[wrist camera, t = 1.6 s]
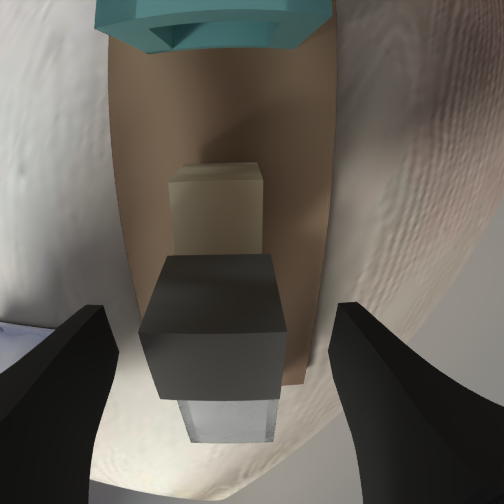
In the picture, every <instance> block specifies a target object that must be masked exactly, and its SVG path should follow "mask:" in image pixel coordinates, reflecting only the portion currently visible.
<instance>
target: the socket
mask: <svg viewBox="0 0 504 504" xmlns="http://www.w3.org/2000/svg"><path fill="white" fill-rule="evenodd" d="M331 17H332V0H97V2H96V12H95V26H94V29H96V30H99V31H101V32H103V33H105V34H108V35H110V36H112V37H114V38H116V39H118V40H120V41H122V42H124V43H126V44H128V45H130V46H132V47H134V48H136V49H138V50H140V51H142V52H144V53H146V54H155V53H163V52H171V51H181V50H193V49H208V48H280V49H295V48H296V47H297V46H299V45H300V44H301V43H302V42H303V41H304V40H305V39H306V38H307V37H309V36H310V35H311V34H312V33H313V32H314V31H315V30H317V29H318V28H319V27H320V26H321V25H322V24H324V23H325V22H326V21H327V20H328V19H329V18H331Z"/></svg>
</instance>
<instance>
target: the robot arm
mask: <svg viewBox="0 0 504 504" xmlns="http://www.w3.org/2000/svg"><path fill="white" fill-rule="evenodd" d="M328 354H329V359H330V364H331V369H332V374H333V379H334V382H335V385H336V388H337V391H338V394H339V397H340V400H341V403H342V406H343V409H344V412H345V416H346V419H347V422H348V425H349V428H350V431H351V434H352V437H353V441H354V445H355V449H356V454H357V460H358V466H359V472H360V479H361V487H362V495H363V504H504V407H503V406H501V405H498V404H496V403H494V402H492V401H490V400H488V399H486V398H484V397H482V396H480V395H478V394H476V393H475V392H473V391H471V390H469V389H467V388H466V387H464V386H462V385H460V384H459V383H457V382H456V381H454V380H453V379H451V378H450V377H448V376H447V375H445V374H444V373H442V372H440V371H439V370H438V369H436V368H435V367H433V366H432V365H431V364H430V363H428V362H427V361H426V360H424V359H423V358H422V357H421V356H419V355H418V354H417V353H415V352H414V351H413V350H412V349H410V348H409V347H408V346H407V345H406V344H405V343H403V342H402V341H401V340H400V339H399V338H398V337H396V336H395V335H394V334H393V333H392V332H391V331H390V330H388V329H387V328H386V327H385V326H384V325H383V324H382V323H381V322H379V321H378V320H377V319H376V318H375V317H374V316H373V315H372V314H371V313H369V312H368V311H367V310H366V309H365V308H364V307H363V306H361V305H360V304H359V303H358V302H347V303H338V307H337V312H336V317H335V322H334V326H333V331H332V335H331V340H330V344H329V349H328ZM118 356H119V350H118V347H117V345H116V342H115V339H114V336H113V334H112V331H111V328H110V325H109V322H108V319H107V316H106V313H105V310H104V307H103V305H86V306H84V307H83V308H81V309H80V310H79V311H77V312H76V313H75V314H74V315H72V316H71V317H70V318H69V319H68V320H66V321H65V322H64V323H63V324H62V325H60V326H59V327H58V328H57V329H56V330H54V329H46V328H38V327H30V326H23V325H16V324H10V323H3V322H0V504H88V496H89V494H88V491H89V479H90V468H91V460H92V453H93V447H94V442H95V438H96V434H97V430H98V427H99V424H100V420H101V417H102V414H103V411H104V408H105V405H106V402H107V399H108V396H109V393H110V389H111V386H112V383H113V380H114V376H115V371H116V367H117V361H118Z"/></svg>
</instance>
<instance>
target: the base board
mask: <svg viewBox="0 0 504 504" xmlns="http://www.w3.org/2000/svg"><path fill="white" fill-rule="evenodd" d="M108 93H109V117H110V133H111V146H112V157H113V167H114V176H115V184H116V192H117V199H118V206H119V213H120V219H121V225H122V231H123V237H124V242H125V248H126V253H127V258H128V263H129V268H130V273H131V277H132V282H133V286H134V291H135V295H136V299H137V303H138V307H139V311H140V315H141V319H142V320H143V317H144V315H145V312H146V309H147V306H148V304H149V301H150V298H151V296H152V293H153V290H154V288H155V285H156V283H157V280H158V277H159V275H160V272H161V270H162V267H163V265H164V262H165V260H166V257H167V256H171V255H175V247H174V238H173V229H172V220H171V209H170V198H169V187H168V182H169V181H170V180H171V179H172V177H173V176H174V175H175V174H176V173H177V171H178V170H179V169H180V168H181V167H182V166H183V164H205V163H250V162H257V164H258V166H259V169H260V172H261V175H262V178H263V223H262V254H271V258H272V262H273V267H274V272H275V276H276V281H277V286H278V290H279V295H280V300H281V304H282V309H283V314H284V319H285V323H286V328H287V339H286V349H285V358H284V367H283V376H282V384H281V386H283V385H297V384H304V379H305V374H306V368H307V363H308V358H309V352H310V347H311V341H312V335H313V329H314V323H315V317H316V311H317V304H318V298H319V291H320V284H321V277H322V269H323V262H324V254H325V245H326V237H327V228H328V218H329V208H330V198H331V186H332V174H333V160H334V144H335V125H336V100H337V14H336V0H332V17H331V18H329V19H328V20H327V21H326V22H325V23H324V24H322V25H321V26H320V27H319V28H318V29H317V30H315V31H314V32H313V33H312V34H311V35H310V36H309V37H307V38H306V39H305V40H304V41H303V42H302V43H301V44H300V45H299V46H297V47H296V48H295V49H280V48H208V49H193V50H181V51H171V52H163V53H155V54H146V53H144V52H142V51H140V50H138V49H136V48H134V47H132V46H130V45H128V44H126V43H124V42H122V41H120V40H118V39H116V38H114V37H112V36H110V35H109V47H108Z"/></svg>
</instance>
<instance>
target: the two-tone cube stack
mask: <svg viewBox="0 0 504 504" xmlns="http://www.w3.org/2000/svg"><path fill="white" fill-rule="evenodd" d="M168 187H169V198H170V209H171V220H172V229H173V238H174V247H175V255H171V256H167V257H166V260H165V262H164V265H163V267H162V270H161V272H160V275H159V277H158V280H157V283H156V285H155V288H154V290H153V293H152V296H151V298H150V301H149V304H148V306H147V309H146V312H145V315H144V317H143V320H142V323H141V326H140V328H139V331H138V334H139V337H140V340H141V344H142V347H143V350H144V353H145V356H146V360H147V363H148V366H149V369H150V372H151V375H152V378H153V380H154V383H155V386H156V389H157V392H158V394H159V397H160V399H168V400H188V401H253V400H274V399H280V392H281V384H282V376H283V367H284V358H285V349H286V339H287V328H286V323H285V319H284V314H283V309H282V304H281V300H280V295H279V290H278V286H277V281H276V276H275V272H274V267H273V262H272V258H271V254H262V223H263V178H262V175H261V172H260V169H259V166H258V164H257V162H250V163H205V164H183V166H182V167H181V168H180V169H179V170H178V171H177V173H176V174H175V175H174V176H173V177H172V179H171V180H170V181H169V182H168Z"/></svg>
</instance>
